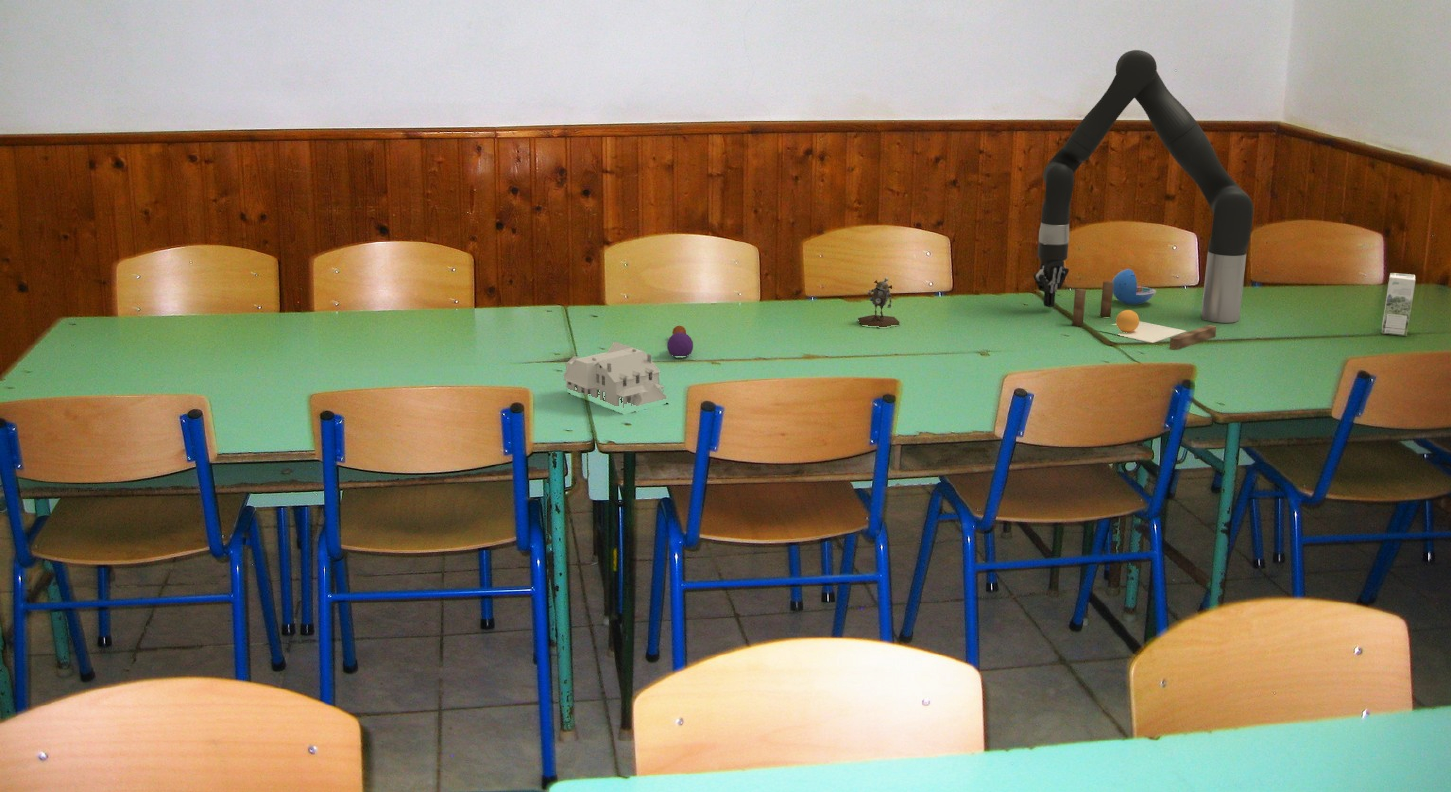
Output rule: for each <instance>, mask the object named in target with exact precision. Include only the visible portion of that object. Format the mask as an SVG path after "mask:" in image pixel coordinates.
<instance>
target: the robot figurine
mask: <svg viewBox="0 0 1451 792" xmlns="http://www.w3.org/2000/svg"><path fill="white" fill-rule="evenodd" d="M889 280H890V279H889V277H888V276H885V278H884V280H881V281H879V282H878V279H876V280H875V281H873V283H874V284H876V285H875V288H873V289H869V290H868V292H867V295H868V297H869V301H870V302H872V304H873V305H874V309H875V310H874V314H871V315H866V316H862V317H861V316H860V317H858V318H857V321H858V320H859V322H860V323H861V324H862V325H868V326H879V327H887V326H891V325H899V326H900V321H899V320H898V319H897V318H896V317H895V316H888V315H884V313H883V309H884V306H886V305H887V307H886V309H892V308H891V307H892V301H893V300H892V296H893V295H892V294H891V291H890V290H892V289H893V285H892V284H890V285H889V284H888V283H887V282H888V281H889ZM871 294H872V297H870V296H871ZM888 301H889V303H888ZM887 303H888V304H887ZM878 307H879V308H880V312H879V314H880V315H879V314H877V308H878ZM859 322H858V323H859ZM860 323H859V324H860ZM861 324H860V325H861ZM862 325H861V326H862Z"/></svg>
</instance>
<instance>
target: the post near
mask: <svg viewBox="0 0 1451 792" xmlns="http://www.w3.org/2000/svg"><path fill="white" fill-rule="evenodd" d="M1086 291H1087V290H1086V289H1083V288H1075V289H1074V297H1073V299H1074V300H1073V311H1072V312H1073V313H1072V326H1074V327H1083V326H1084V315H1085V304H1086Z"/></svg>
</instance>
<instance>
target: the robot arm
mask: <svg viewBox="0 0 1451 792" xmlns="http://www.w3.org/2000/svg"><path fill="white" fill-rule="evenodd" d="M1157 70H1158V67H1157V61H1156V59H1155V58H1154V56H1153V55H1152V54H1150V52H1147V51H1144V50H1142V49H1141V50H1140V49H1134V50H1129V51H1126V52H1124V53H1123V54H1122V55H1121V56H1120V57H1119V58H1118V59H1117V62H1116V66H1115V76H1114V77H1113V80H1112V81H1111V83H1110V85H1109V87H1108V89H1106V91H1105V92H1104V94H1103V95H1102V96H1101V98H1100V99H1099V100H1098V102H1096V104H1095V105H1094V106H1093V107H1092V109H1090V110H1089V111H1088V113H1087V114H1086V115H1085V116H1084V118H1083V119H1081V121H1080V122H1079V123H1078V125H1077V126H1076V128H1075V129H1074V131H1073V132H1072V133H1071V135H1070V136H1069V137H1068V139H1067V140H1066V142H1065V144H1064V145H1062V147H1061V148H1060V149H1059V150H1058V151H1057V152H1056V154H1055V155H1054V156H1053V157H1052V158H1051V160H1049V162H1048V163H1047V164H1046V166H1045V168H1044V170H1043V173H1042V179H1043V182H1044V183H1045V188H1044V189H1045V192H1044V202H1043V203H1042V207H1041V214H1040V215H1041V217H1040V226H1039V231H1038V247H1037V258H1038V259H1039V260H1040V261H1041V262H1040V264H1039V271H1038V272H1037V273H1036V272H1035V273H1033V275H1032V277H1033V280H1034V281H1035V283H1036V286H1037V288H1038V290H1039V291H1041V292H1043V293H1044V294H1043V306H1044V307H1047V308H1051V307H1054V306H1055V301H1056V300H1055V299H1056V293H1057V292H1058V290H1060V289H1061V288H1062V286H1063V284H1064V282H1065V280H1066V278H1067V277H1068V274H1069V271H1070V270H1069V268H1066V267H1065V266H1064V265H1065V263H1064V261H1066V260H1067V259H1068V257H1069V256H1068V255H1069V253H1068V252H1069V243H1070V241H1069V239H1070V214H1071V201H1072V196H1073V190H1074V185H1075V172H1076V171H1077V170H1078V169H1079V167H1080V166H1081V165H1082V164H1083V163H1084V162H1087V160H1088V159H1089V158H1090V157H1091V156H1092V154H1093V153H1094V152H1095V151H1096V149H1097V148H1098V147H1099V145H1100V144H1101V142H1102V141H1103V140H1104V138H1105V137H1106V136H1107V134H1108V132H1109V131H1110V129H1112V127H1113V125H1114V123H1116V122H1117V121H1116V120H1117V119H1119V117H1120V115H1122V113H1123V112H1124V110H1125V109H1126V108H1127V107H1128V106H1129V105H1130V104H1131V102H1132V101H1133V100H1134V99H1135V100H1136V101H1137V103H1138V104H1139V105H1140V106H1141V108H1142V110H1143V111H1144V113H1145V114H1146V116H1147V118H1148V120H1149V122H1150V123H1151V125H1152V127H1153V128H1154V131H1155V132H1156V134H1157V136H1158V137H1159V139H1160V140H1161V142H1162V143H1163V145H1164V147H1165V148H1166V150H1167V151H1168V152H1169V154H1170V155H1171V156H1172V157H1173V159H1174V160H1175V161H1176V163H1177V164H1178V166H1180V167H1181V169H1182V170H1184V172H1186V174H1187V175H1188V176H1189V177H1190V178H1191V179H1192V180H1193V181H1194V183H1195V184H1196V185H1197V187H1198V188H1199V189H1200V191H1201V192H1202V193H1201V194H1203V197H1204V199H1205V200H1206V202H1207V204H1208V206H1209V208H1210V209H1211V212H1212V215H1213V216H1212V218H1213V219H1212V225H1211V235H1210V239H1209V242H1208V247H1207V248H1208V249H1207V256H1206V267H1205V274H1204V275H1205V276H1204V285H1203V293H1202V294H1203V296H1202V302H1201V311H1200V318H1201V319H1202V320H1205V321H1208V322H1213V323H1220V324H1221V323H1223V324H1225V323H1226V324H1227V323H1228V324H1229V323H1236V322H1239V321H1240V318H1241V307H1242V298H1243V291H1244V279H1245V278H1244V277H1245V269H1246V261H1247V252H1248V246H1249V243H1250V239H1251V234H1252V233H1251V232H1252V224H1253V218H1254V204H1253V200H1252V198H1250V197H1251V196H1250V195H1248V193H1246V192H1245V191H1244V190H1243V189H1242V188H1241V187H1240V186H1239V185H1238V184H1237V183H1236V182H1235V181H1234V180H1233V178H1232V177H1231V175H1230V174H1229V173H1228V172H1227V171H1226V169H1225V168H1224V167H1223V165H1222V164H1221V162H1220V160H1219V158H1218V156H1217V154H1216V150H1215V149H1214V147H1213V145H1212V143H1211V141H1210V140H1209V138H1208V136H1207V134H1206V133H1205V131H1204V130H1203V129H1202V127H1201V126H1200V125H1199V123H1198V122H1197V121H1196V119H1195V118H1194V117H1193V115H1192V114H1191V113H1190V111H1188V110H1187V109H1186V107H1185V106H1184V105H1183V104H1182V103H1181V102H1180V101H1179V100H1178V99H1177V98H1176V96H1174V95H1173V94H1172V93H1171V92H1170V90H1169V89H1168V88H1167V86H1166V85H1165V83H1164V81H1163V79H1162V78H1161V77H1160V75H1159V72H1158V71H1157Z"/></svg>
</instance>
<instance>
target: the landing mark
mask: <svg viewBox="0 0 1451 792" xmlns="http://www.w3.org/2000/svg"><path fill="white" fill-rule="evenodd" d="M1111 325H1116V323H1113V324H1111ZM1186 332H1188V331H1187V330H1185V329H1179V328H1175V327H1169V326H1164V325H1159V324H1155V323H1154V324H1153V323H1149V322H1145V321H1141V320H1139V325H1138V327H1137V328H1136V329H1135V330H1134V331H1132V332H1127V333H1126V332H1125V333H1126V334H1123V331H1122V332H1119V334H1118V335H1120V336H1119V337H1121V336H1124V337H1123V338H1126V337H1128V338H1127V339H1132V340H1135V339H1136V341H1141V342H1144V343H1145V342H1146V343H1151V344H1154V343H1157V342H1160V341H1164V340H1166V339H1169V338H1171V337H1174V336H1177V335H1180V334H1183V333H1186ZM1120 333H1122V334H1120Z"/></svg>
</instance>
